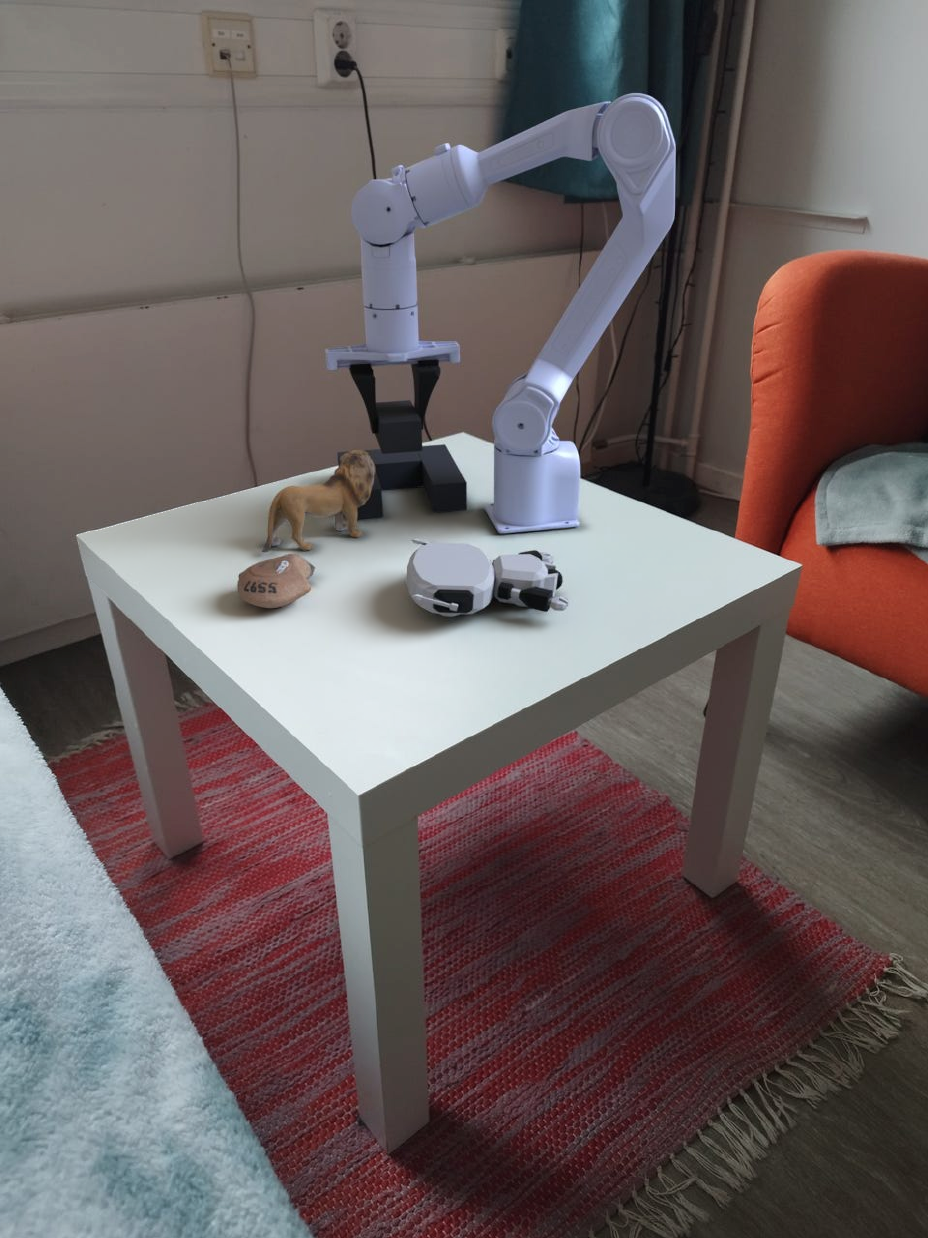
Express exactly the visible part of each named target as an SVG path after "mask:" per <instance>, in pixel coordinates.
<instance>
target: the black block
mask: <svg viewBox="0 0 928 1238" xmlns="http://www.w3.org/2000/svg"><path fill="white" fill-rule="evenodd" d="M376 410H377V417H378V433H375V434H374V437H375V439H376V441H377V444H378V446H379V449H381V452H382V454H388V453H401V452H414V451H422V446H423V430H422V422H421V419H420V417H419V415H418V414H417V412H416V410H415V408H414V403H413V402H412V401H411V399H408V400H393V401H380V402H379V401H378V402H377V401H376Z"/></svg>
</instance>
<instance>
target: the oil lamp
mask: <svg viewBox="0 0 928 1238" xmlns="http://www.w3.org/2000/svg"><path fill="white" fill-rule="evenodd" d="M315 570H316V566H314V565H313V564H312V563H311V562H310V561H308V560H306V559H305V558H303V557H302V556H300V555H298V554H296V553H288V554H284V555H281V556H278V557H275V558H268V559H264V560H260V561H258V562H256V563H254V564H252V565H250V566H248V567H247V568H245V569H244V570H243V571H241V572H240V573H239V574H238V575H237V577H238V580H237V585H236V588H237V593H238V595H239V598H241V599H242V600H243V601H244V602H246V603H247V604H250V605H253V606H255V607H259V608H262V609H276V608H282V607H285V606H288V605H290V604H291V603H294V602H296V601H297V600H299V599H301V598H302V597H304V596H306V595H307V594H308V593H310V592H311V591H312V586H311V584H310V582H309V578H311V577H312V576H313V575H314V572H315Z"/></svg>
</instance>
